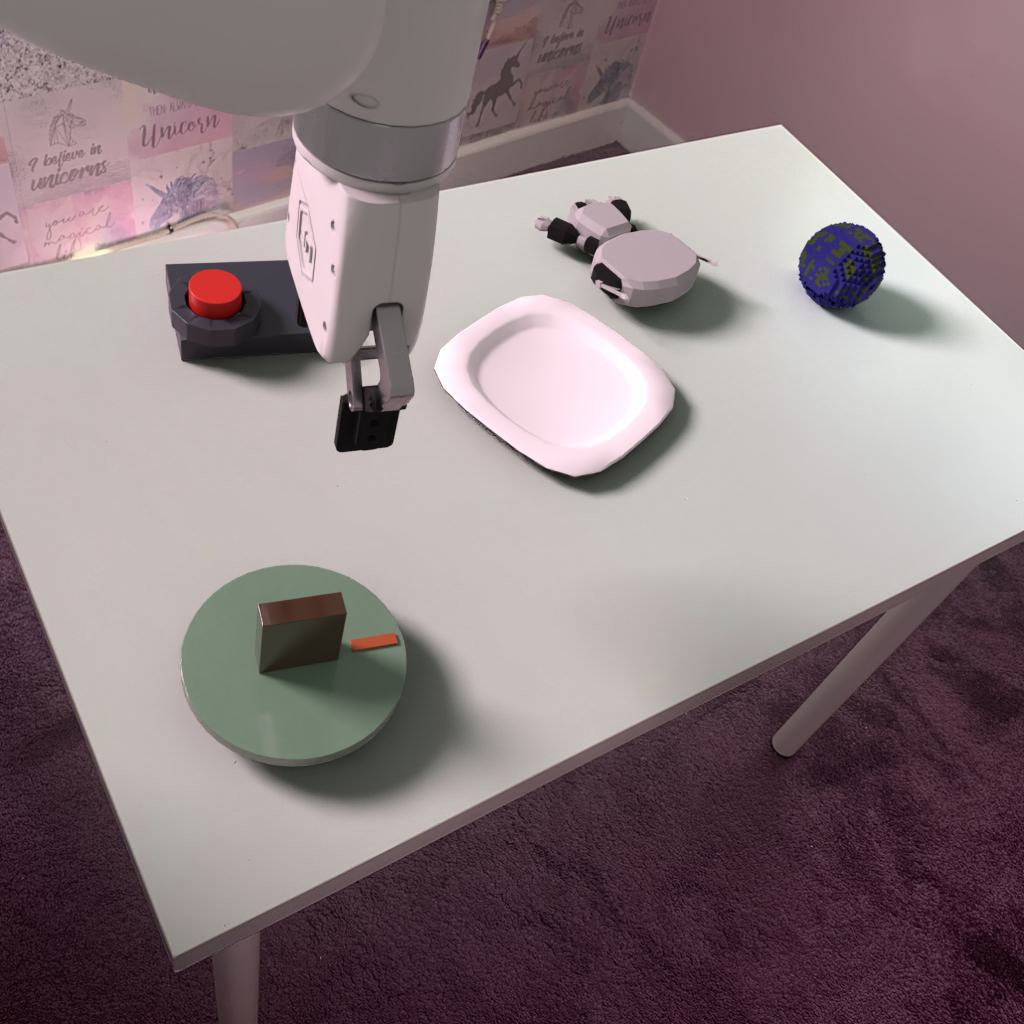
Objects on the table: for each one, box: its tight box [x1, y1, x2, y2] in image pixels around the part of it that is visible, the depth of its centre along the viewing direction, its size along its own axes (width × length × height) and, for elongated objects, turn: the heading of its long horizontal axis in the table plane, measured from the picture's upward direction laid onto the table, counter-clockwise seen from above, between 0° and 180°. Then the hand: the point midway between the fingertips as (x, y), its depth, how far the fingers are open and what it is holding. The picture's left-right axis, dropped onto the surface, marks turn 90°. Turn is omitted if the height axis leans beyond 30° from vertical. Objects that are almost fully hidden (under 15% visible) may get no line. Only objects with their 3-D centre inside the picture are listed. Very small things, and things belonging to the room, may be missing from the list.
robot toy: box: [533, 195, 720, 308], centre depth 102 cm, size 12×4×15 cm
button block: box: [164, 259, 319, 361], centre depth 86 cm, size 12×10×4 cm
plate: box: [433, 294, 676, 478], centre depth 90 cm, size 18×18×2 cm
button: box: [189, 269, 242, 320], centre depth 83 cm, size 4×4×2 cm
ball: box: [797, 221, 887, 310], centre depth 106 cm, size 8×8×8 cm
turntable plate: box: [179, 564, 408, 767], centre depth 65 cm, size 14×14×7 cm
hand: (341, 381), depth 60 cm, fingers open, 9 cm apart
